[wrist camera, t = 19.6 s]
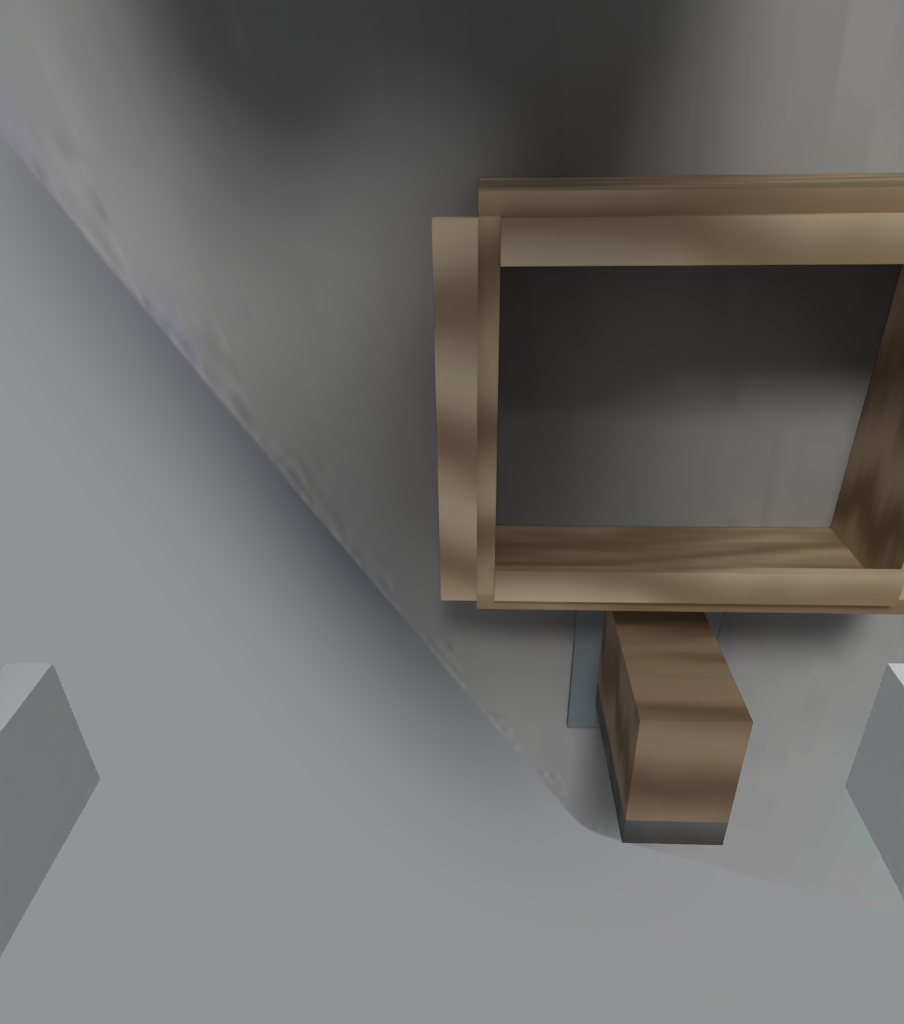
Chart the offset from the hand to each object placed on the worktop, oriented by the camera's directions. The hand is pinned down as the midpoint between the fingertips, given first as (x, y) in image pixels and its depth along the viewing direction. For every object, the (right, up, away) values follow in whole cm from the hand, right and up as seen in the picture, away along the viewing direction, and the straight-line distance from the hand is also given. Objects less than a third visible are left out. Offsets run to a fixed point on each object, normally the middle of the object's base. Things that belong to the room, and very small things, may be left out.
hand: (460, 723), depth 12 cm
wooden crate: (+13, +11, +31) cm, 36 cm away
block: (+14, -6, +40) cm, 43 cm away
